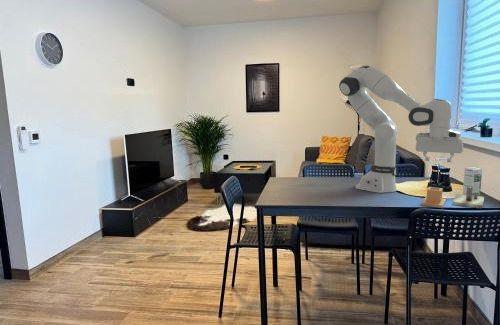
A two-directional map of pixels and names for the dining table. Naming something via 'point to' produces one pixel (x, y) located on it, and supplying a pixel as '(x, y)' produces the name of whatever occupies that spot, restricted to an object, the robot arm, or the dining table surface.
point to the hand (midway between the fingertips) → (437, 161)
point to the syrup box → (472, 180)
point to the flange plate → (434, 198)
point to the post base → (462, 201)
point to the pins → (470, 194)
